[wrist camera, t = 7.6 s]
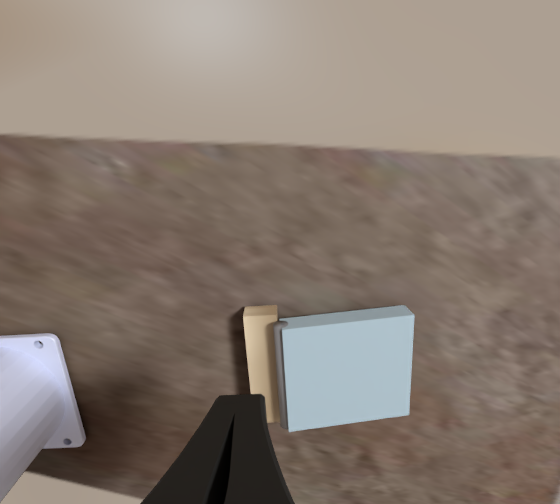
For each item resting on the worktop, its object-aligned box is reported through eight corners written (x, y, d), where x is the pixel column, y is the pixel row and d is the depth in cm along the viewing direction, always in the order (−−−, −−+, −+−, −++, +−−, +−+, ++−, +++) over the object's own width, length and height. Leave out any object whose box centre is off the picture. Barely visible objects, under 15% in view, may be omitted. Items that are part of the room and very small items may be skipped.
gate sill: (255, 408, 22) (253, 423, 21) (245, 306, 20) (242, 316, 19) (284, 407, 22) (284, 421, 21) (276, 305, 20) (276, 314, 19)
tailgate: (281, 432, 20) (408, 414, 21) (274, 330, 18) (414, 314, 19) (279, 417, 21) (399, 400, 22) (271, 319, 19) (404, 304, 20)
